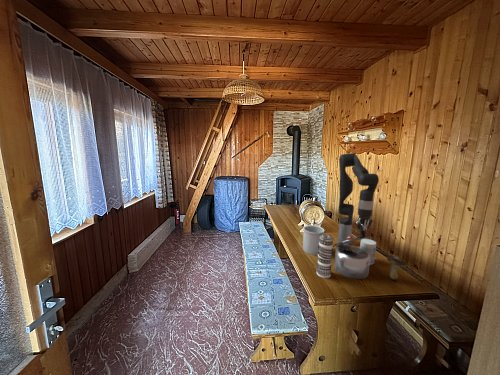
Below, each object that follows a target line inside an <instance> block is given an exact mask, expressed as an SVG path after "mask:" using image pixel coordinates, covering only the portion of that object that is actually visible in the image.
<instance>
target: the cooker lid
mask: <svg viewBox="0 0 500 375" xmlns="http://www.w3.org/2000/svg"><path fill="white" fill-rule="evenodd" d="M370 237H371V234H368V235H365V236H359V237H354V236H353V235H351V236H350V237H346V238H347V240H346V241H342V242H339V243H338V242H336V243H333V245H334V247H336V246H338V245H341V244H345V243H350V242H351V243H354V242H356V241H361V240H362V239H369V238H370Z"/></svg>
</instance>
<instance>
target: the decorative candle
mask: <svg viewBox="0 0 500 375" xmlns="http://www.w3.org/2000/svg"><path fill="white" fill-rule="evenodd" d="M319 238H320V242H319V243H318V255H317V258H318V259H317V262H316V270H315V271H316V275H317V276H319V277H320V278H324V279H329V278H330V277H331V276H332V267H333V265H332V259H333V256H334V247H335V246H334V241H335V239H334V237H332V235H331V234H325V233H324V235H322V236H320V237H319Z"/></svg>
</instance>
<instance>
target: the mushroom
mask: <svg viewBox="0 0 500 375" xmlns="http://www.w3.org/2000/svg"><path fill="white" fill-rule="evenodd" d="M386 259H387V261H388V262H389V263H391V265H390V267H389V279H391V280H392V281H395V282H396V281H397V280H398V277H399V275H398V273H397V272H398V270H399V267H400V268H406V267H407V262H406V261H405V260H404V259H403V258H401V257H399V255H396V254H388V255H387V257H386Z"/></svg>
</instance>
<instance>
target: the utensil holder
mask: <svg viewBox="0 0 500 375" xmlns="http://www.w3.org/2000/svg"><path fill="white" fill-rule="evenodd" d="M324 234H325V229H324V228H323V227H321V226H318V225H314V224H313V225H312V224H311V225H305V226H304V227H303V239H302V241H303V242H302V251H304V253H306V254H308V255H311V256H318V243H319V242H320V238H319V237H320V236H322V235H324Z"/></svg>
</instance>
